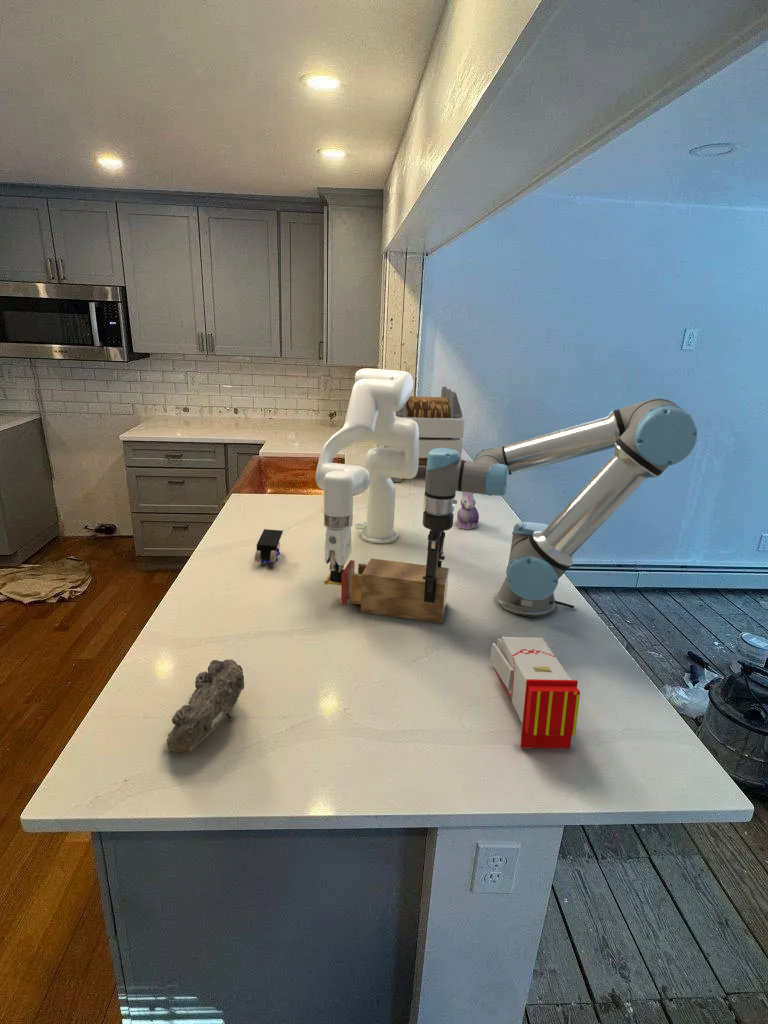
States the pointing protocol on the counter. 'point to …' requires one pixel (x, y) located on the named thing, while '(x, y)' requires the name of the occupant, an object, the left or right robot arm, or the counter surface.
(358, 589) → the drawer
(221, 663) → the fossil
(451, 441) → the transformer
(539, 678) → the toy
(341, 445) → the left robot arm
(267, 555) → the figurine character
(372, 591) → the cabinet
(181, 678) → the counter surface
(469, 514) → the figurine
